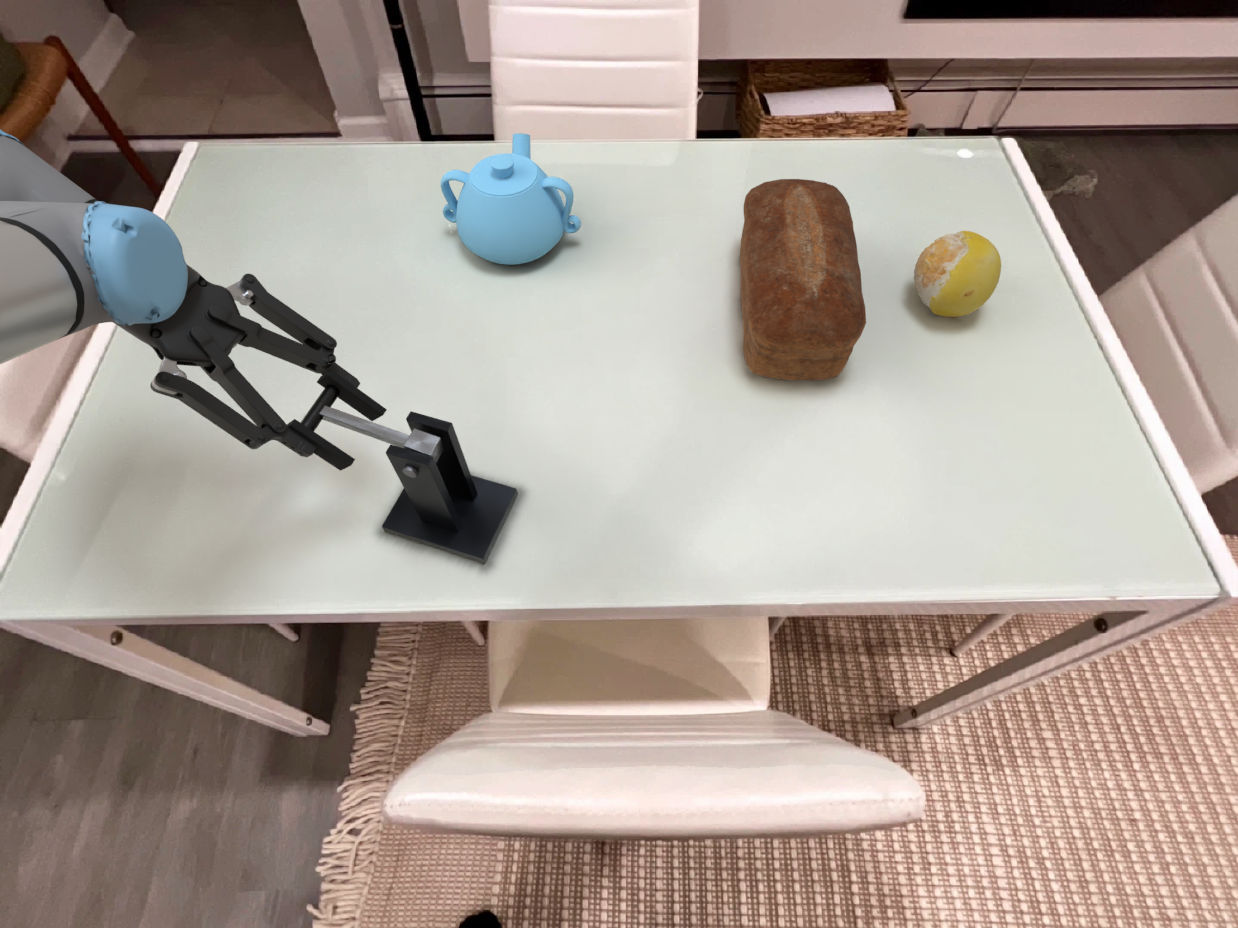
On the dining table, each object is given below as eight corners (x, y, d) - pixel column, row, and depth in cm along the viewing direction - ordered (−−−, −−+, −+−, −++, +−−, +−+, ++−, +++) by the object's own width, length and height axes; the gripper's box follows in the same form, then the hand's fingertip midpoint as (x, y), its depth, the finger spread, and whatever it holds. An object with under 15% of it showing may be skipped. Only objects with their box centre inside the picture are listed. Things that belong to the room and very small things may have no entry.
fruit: (966, 273, 97) (999, 213, 89) (990, 331, 92) (1026, 273, 83) (893, 275, 97) (918, 215, 89) (911, 333, 92) (940, 275, 83)
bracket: (384, 532, 77) (337, 459, 64) (422, 465, 81) (385, 385, 69) (485, 564, 75) (456, 494, 62) (518, 494, 79) (497, 416, 67)
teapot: (434, 269, 99) (411, 192, 88) (469, 180, 109) (452, 101, 99) (573, 281, 97) (566, 204, 87) (594, 189, 108) (591, 110, 97)
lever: (299, 437, 68) (292, 423, 66) (329, 394, 70) (323, 379, 68) (425, 482, 67) (422, 470, 65) (451, 437, 69) (448, 423, 67)
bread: (829, 239, 101) (852, 162, 91) (851, 394, 86) (881, 324, 76) (732, 235, 102) (744, 159, 92) (737, 389, 87) (751, 318, 77)
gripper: (188, 227, 66) (392, 380, 77) (45, 372, 57) (300, 523, 68) (208, 190, 61) (424, 360, 72) (52, 343, 52) (328, 512, 63)
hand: (363, 439), depth 70 cm, fingers closed on lever, 5 cm apart
